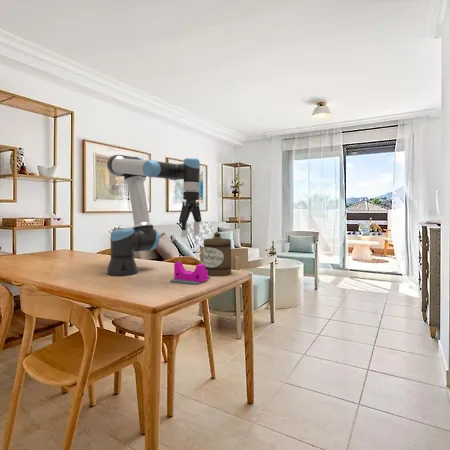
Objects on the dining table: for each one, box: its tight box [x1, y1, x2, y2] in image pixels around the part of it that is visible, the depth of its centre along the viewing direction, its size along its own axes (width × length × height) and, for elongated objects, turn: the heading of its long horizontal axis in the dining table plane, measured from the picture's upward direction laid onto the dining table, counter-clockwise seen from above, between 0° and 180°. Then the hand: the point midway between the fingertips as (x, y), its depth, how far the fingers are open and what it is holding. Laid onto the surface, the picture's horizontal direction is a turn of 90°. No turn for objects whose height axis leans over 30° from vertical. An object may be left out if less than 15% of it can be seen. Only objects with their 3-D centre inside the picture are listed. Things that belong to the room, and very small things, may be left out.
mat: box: [169, 276, 211, 286], centre depth 156 cm, size 14×16×1 cm
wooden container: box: [202, 231, 232, 277], centre depth 174 cm, size 15×15×22 cm
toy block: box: [173, 261, 209, 283], centre depth 156 cm, size 15×6×8 cm, turn 63°
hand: (190, 236), depth 155 cm, fingers open, 13 cm apart
